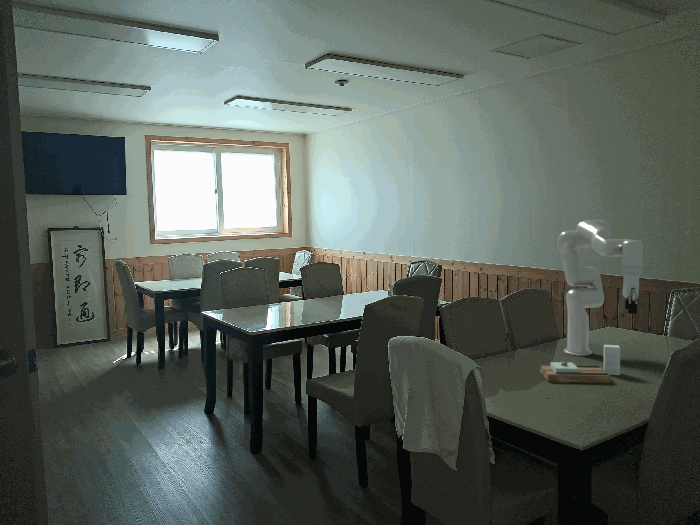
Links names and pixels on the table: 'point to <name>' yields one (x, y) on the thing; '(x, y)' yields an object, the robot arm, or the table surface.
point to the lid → (563, 367)
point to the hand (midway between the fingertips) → (630, 311)
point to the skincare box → (612, 359)
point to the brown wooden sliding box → (576, 375)
